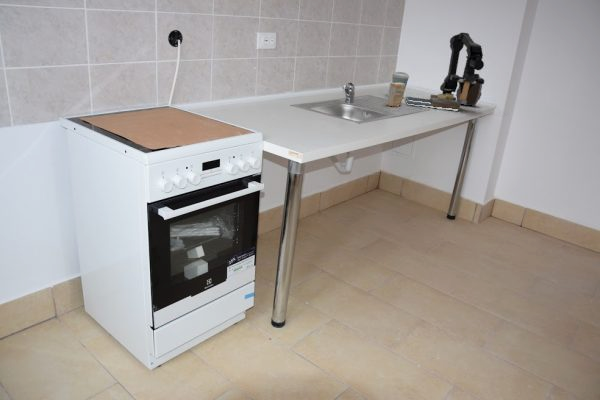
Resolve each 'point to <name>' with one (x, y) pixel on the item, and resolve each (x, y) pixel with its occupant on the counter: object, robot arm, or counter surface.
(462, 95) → the brown and grey block
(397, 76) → the disposable coffee cup
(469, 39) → the robot arm
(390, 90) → the supplement box
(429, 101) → the slate tray
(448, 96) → the brass block
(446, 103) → the railed tan board
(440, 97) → the brass block
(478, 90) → the dark brown rounded block
